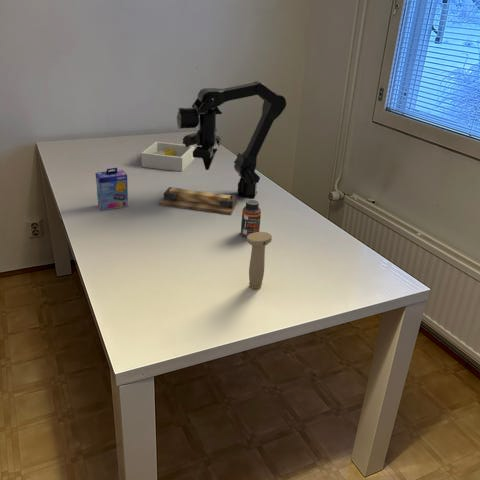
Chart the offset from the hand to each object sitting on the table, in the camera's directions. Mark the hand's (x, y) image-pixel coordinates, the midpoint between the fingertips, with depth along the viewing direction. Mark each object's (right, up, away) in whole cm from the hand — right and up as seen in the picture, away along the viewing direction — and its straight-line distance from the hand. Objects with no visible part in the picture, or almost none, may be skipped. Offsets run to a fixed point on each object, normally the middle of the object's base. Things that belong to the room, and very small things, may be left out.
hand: (207, 169), depth 177 cm
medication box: (-23, +10, +41) cm, 48 cm away
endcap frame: (-3, -12, +1) cm, 12 cm away
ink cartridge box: (-33, -14, -6) cm, 36 cm away
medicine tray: (-20, +9, +38) cm, 44 cm away
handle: (+16, -38, -47) cm, 62 cm away
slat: (-3, -11, 0) cm, 12 cm away
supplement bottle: (+15, -24, -19) cm, 34 cm away
